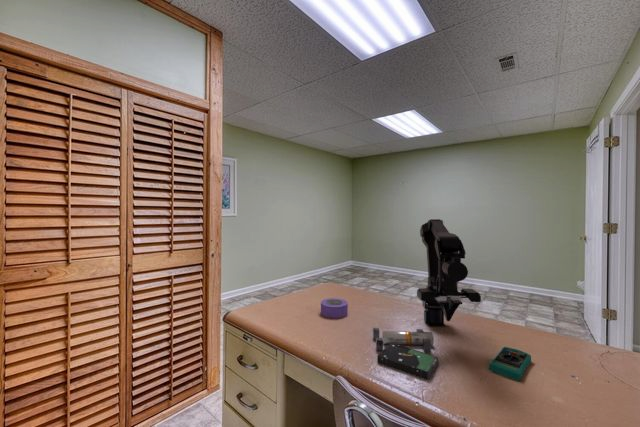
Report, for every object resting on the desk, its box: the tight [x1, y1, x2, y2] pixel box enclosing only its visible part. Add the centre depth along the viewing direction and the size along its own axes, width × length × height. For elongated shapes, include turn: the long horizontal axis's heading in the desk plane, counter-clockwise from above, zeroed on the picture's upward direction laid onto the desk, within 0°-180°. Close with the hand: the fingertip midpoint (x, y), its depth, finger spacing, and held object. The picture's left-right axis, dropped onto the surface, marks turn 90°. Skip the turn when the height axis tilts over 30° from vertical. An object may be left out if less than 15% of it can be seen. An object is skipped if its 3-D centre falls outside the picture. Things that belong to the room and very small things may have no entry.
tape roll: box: [320, 297, 349, 319], centre depth 123 cm, size 12×12×5 cm
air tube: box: [381, 330, 435, 346], centre depth 94 cm, size 16×4×4 cm, turn 86°
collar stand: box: [372, 327, 432, 353], centre depth 94 cm, size 17×10×4 cm, turn 86°
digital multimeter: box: [488, 346, 532, 382], centre depth 81 cm, size 7×15×3 cm, turn 133°
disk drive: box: [376, 343, 439, 381], centre depth 82 cm, size 10×3×15 cm
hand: (447, 320), depth 93 cm, fingers closed
